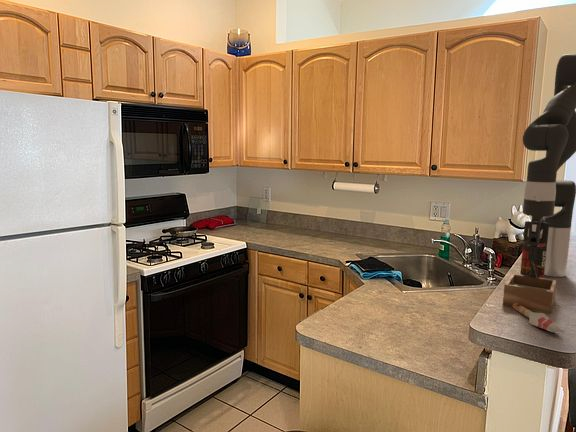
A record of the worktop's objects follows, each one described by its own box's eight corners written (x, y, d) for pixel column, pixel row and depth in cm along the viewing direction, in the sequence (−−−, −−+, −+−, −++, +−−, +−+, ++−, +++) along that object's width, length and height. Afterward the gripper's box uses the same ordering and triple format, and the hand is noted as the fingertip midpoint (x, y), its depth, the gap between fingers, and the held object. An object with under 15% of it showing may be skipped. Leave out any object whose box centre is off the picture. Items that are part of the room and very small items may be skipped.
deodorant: (522, 271, 130) (527, 220, 127) (545, 274, 126) (551, 222, 124) (518, 275, 125) (522, 222, 123) (541, 279, 121) (547, 225, 119)
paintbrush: (550, 325, 102) (509, 300, 122) (549, 337, 102) (508, 310, 122) (567, 326, 102) (523, 301, 122) (566, 337, 102) (522, 310, 122)
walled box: (510, 292, 136) (512, 273, 135) (554, 300, 129) (556, 280, 128) (502, 305, 124) (504, 284, 123) (550, 314, 118) (552, 292, 117)
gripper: (527, 195, 130) (522, 251, 133) (520, 199, 119) (515, 260, 121) (557, 197, 126) (551, 254, 129) (553, 201, 114) (546, 264, 117)
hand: (533, 257), depth 125 cm, fingers closed on deodorant, 6 cm apart
